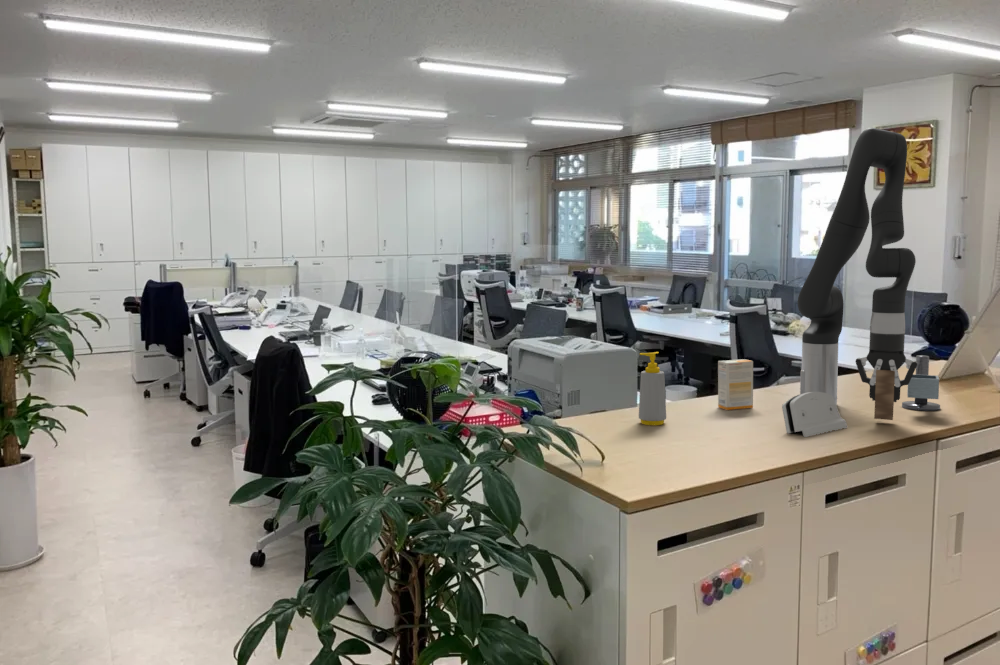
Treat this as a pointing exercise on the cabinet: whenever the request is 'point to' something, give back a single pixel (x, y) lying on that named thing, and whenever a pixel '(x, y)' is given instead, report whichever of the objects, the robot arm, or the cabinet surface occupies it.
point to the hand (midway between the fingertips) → (884, 400)
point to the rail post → (884, 394)
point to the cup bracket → (922, 387)
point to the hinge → (812, 414)
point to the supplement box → (735, 384)
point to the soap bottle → (652, 394)
